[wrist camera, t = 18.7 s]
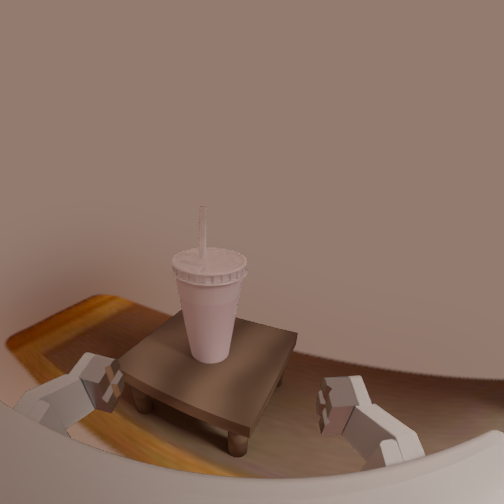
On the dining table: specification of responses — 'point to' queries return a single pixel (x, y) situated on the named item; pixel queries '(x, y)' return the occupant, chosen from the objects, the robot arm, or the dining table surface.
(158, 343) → the stool
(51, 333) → the dining table surface
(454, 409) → the dining table surface
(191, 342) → the smoothie
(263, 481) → the robot arm
